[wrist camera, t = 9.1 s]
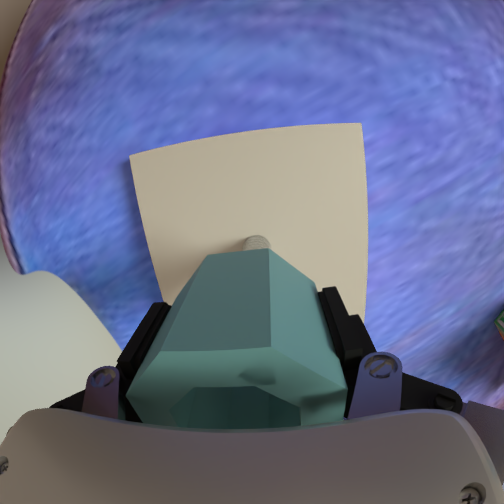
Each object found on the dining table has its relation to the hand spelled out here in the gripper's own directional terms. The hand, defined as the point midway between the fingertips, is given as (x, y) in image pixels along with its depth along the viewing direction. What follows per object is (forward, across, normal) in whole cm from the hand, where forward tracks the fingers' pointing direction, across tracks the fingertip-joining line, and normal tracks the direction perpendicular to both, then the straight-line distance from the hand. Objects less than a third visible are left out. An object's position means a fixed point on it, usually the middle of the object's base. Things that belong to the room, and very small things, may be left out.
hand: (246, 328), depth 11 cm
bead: (+1, 0, 0) cm, 1 cm away
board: (+11, 0, 0) cm, 11 cm away
